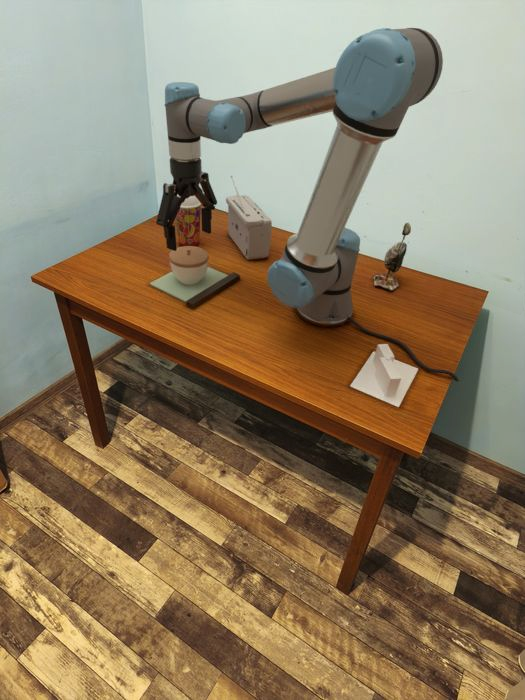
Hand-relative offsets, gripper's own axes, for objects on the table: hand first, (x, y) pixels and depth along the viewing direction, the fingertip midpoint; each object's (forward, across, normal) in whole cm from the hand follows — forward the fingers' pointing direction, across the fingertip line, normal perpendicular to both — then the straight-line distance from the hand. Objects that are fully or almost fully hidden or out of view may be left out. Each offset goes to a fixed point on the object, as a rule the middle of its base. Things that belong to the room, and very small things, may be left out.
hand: (189, 240), depth 122 cm
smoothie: (+13, -17, -17) cm, 27 cm away
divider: (+13, 0, +8) cm, 15 cm away
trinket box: (+12, 0, -1) cm, 12 cm away
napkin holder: (+14, +2, +60) cm, 62 cm away
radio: (+13, -28, -2) cm, 31 cm away
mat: (+13, 0, -1) cm, 13 cm away
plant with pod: (+14, -38, +43) cm, 59 cm away
